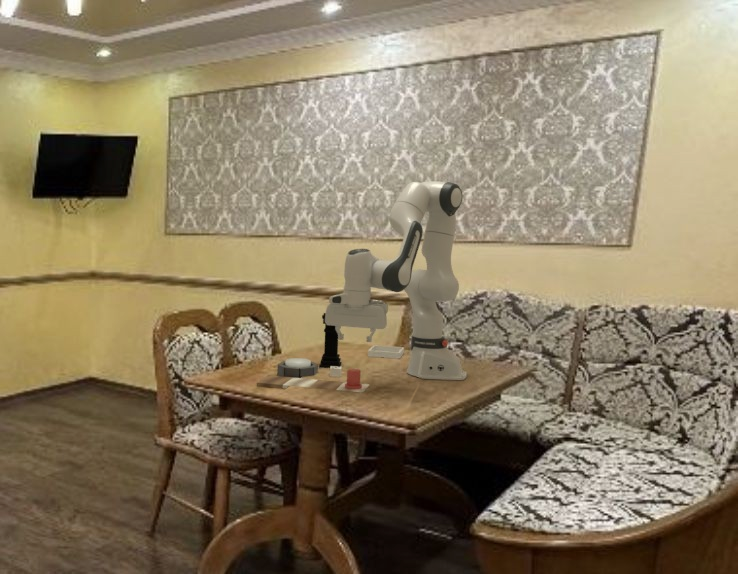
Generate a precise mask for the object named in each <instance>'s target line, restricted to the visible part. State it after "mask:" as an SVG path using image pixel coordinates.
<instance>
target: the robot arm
mask: <svg viewBox="0 0 738 574" xmlns="http://www.w3.org/2000/svg"><path fill="white" fill-rule="evenodd" d="M462 203H463V192H462V189H461V187H460V185H458V184H457V183H455V182H451V181H447V182H446V181H438V180H433V181H423V182H421V181H411V182H409V183H408V184H407V185H406V186H405V187H404V188H403V189H402V191H401V193H400V194H399V195H398V196H397V199H396V201H395V202H394V204H393V206H392V207H391V210H390V213H389V215H388V220H389V224H390V226H391V228H392V229H393V230H394V231H395V232H396V233H397V234H398V235H399V236H401V237H402V242H401V245H400V248H399V252H398V254H397V256H396V258H394V259H392V260H388V259H379V258H378V257H376V256H375V255H373V253H372V252H371V250H370V249H369V248H355V249H351V250H349V251H348V253H346V254H347V255H346V257H345V262H344V273H343V274H344V275H343V276H344V287H343V292H341V293H337V294H335V295H331V296H330V297H329V298H328V302H329V304H328V305H327V306H326V309H325V313H326V314H325V323H326V324H327V325H332V326H335V330H336V331H337V333H338V341H344V338H345V337H344V336H345V334H344V333H342V332H341V330H340V329H341V328H342V327H347V328H359V329H361V328H362V329H369V330H370V332H371V333H370V335H367V336H366V342H367V343H372V341H373V336H374V335H375V332H376V331H377V330H384V329H385V328H386V327H387V325H388V324H387V323H388V322H387V321H388V320H387V314H388V311H389V306H388V303H387V302H386V301H385V300H381V299H380V300H379V299H378V300H377V299H371V296H372V295H371V291H372V288H374V289H379V290H387V291H389V292H395V293H400V292H402V291H404V292H405V293H406V294H407V296H408V299H409V301H410V305H411V310H412V335H411V338H410V350H411V353H410V357H409V362H408V366H407V369H406V374H408V375H410V376H414V377H418V378H419V379H423V380H424V379H425V380H443V381H446V380H447V381H463V380H465V379H467V377H468V375H467V374H468V373H467V372H466V371H465V370H463V369H462V364H461V361H460V358H459V357H458V356H457V355H456V354H455V353H454V352H452V351H451V350H450V349H449V348H448V344H449V342H448V340H447V339H448V338H444V337H443V329H444V328H443V325H444V317H443V315H442V313H441V312H440V310H439V309H438V306H437V302H439V303H441V302H442V303H443V302H450V301H453V300H454V299H455V298H456V297H457V296H458V292H459V291H460V284H459V281H458V278H457V277H456V276H455V274H454V271H453V268H452V252H453V244H454V239H455V234H456V226H457V225H456V224H457V222H456V221H457V220H456V219H457V211H458V210H459V209H460V206H461V205H462ZM426 213H428V219H427V223H426V226H425V230H424V231H423V226H422V220H423V219H424V216H425V214H426ZM423 232H424V234H423ZM422 238H423V239H422ZM422 240H423V241H422ZM421 243H422V244H421ZM420 244H421V245H422V246H421V253H422V256H423V257H424V258H425V263H426V269H420V268H419V269H414V270H413V268H414V267H413V266H414V264H415V260H416V257H417V254H418V251H419V248H420Z"/></svg>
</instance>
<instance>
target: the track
mask: <svg viewBox="0 0 738 574" xmlns="http://www.w3.org/2000/svg"><path fill="white" fill-rule="evenodd" d="M346 383H347V381H336V380H335V381H334V380H325V379H324V380H323V379H314V378H305V377H304V378H303V377H301V378H293V377H282V376H277V375H267V376H265V377H263V378H262V379H260V380H258V381H257V382H256V387H260V388H261V387H263V388H271V389H284V390H286V389H288V388H289V387H299V388H300V387H301V388H308V389H310V388H311V389H320V390H321V389H322V390H333V391H344V392H354V393H364V392H365V391H366V390H367V389H368V387H370V383H369V384H368V383H361V384H362V388H360V389H348V388H345V384H346Z"/></svg>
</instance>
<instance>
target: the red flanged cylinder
mask: <svg viewBox="0 0 738 574" xmlns="http://www.w3.org/2000/svg"><path fill="white" fill-rule="evenodd" d="M361 373H362V372H361V370H360V369H357V368H356V369H355V368H349V369H347V371H346V382H347V383H346V384H345V388H348V389H360V388H362V384H363V383H361Z"/></svg>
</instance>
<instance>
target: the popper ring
mask: <svg viewBox="0 0 738 574" xmlns="http://www.w3.org/2000/svg"><path fill="white" fill-rule="evenodd" d="M285 361H286V360H284V361H280V362H279V363H277V375H276V376H282V377H293V378H303V377H304V378H305V377H311V376H315V375H317V373H319V364H318V363H316V362H314V361H311V360H310V361H311V367H303V368H295V367H287V366H285Z"/></svg>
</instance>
